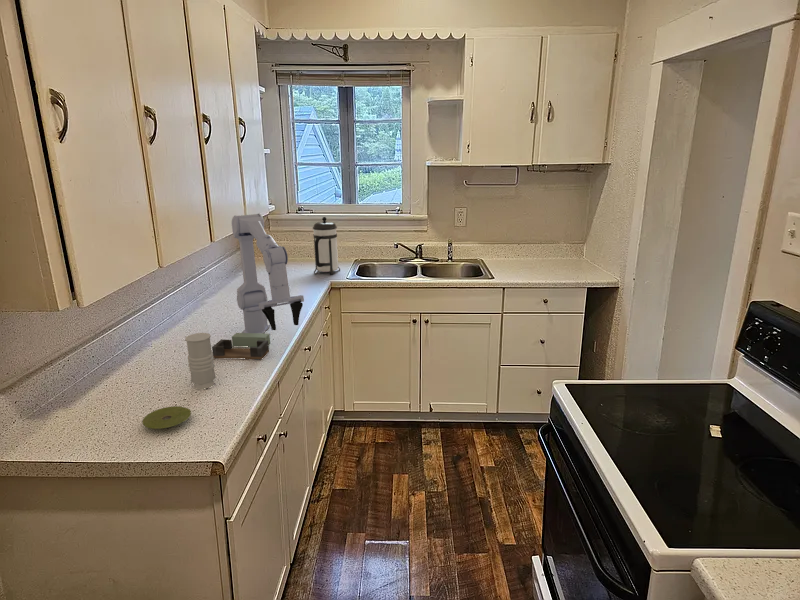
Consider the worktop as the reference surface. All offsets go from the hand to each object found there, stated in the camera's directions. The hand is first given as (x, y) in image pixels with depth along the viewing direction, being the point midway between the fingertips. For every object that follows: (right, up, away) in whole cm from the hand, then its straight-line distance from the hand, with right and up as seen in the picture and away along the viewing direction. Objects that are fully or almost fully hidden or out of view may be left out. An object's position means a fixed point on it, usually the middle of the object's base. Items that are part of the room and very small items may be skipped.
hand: (285, 327), depth 170 cm
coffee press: (-3, +23, +116) cm, 119 cm away
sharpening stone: (-15, -7, +14) cm, 22 cm away
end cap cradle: (-16, -10, +6) cm, 19 cm away
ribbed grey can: (-20, -16, -16) cm, 30 cm away
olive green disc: (-21, -23, -37) cm, 48 cm away
